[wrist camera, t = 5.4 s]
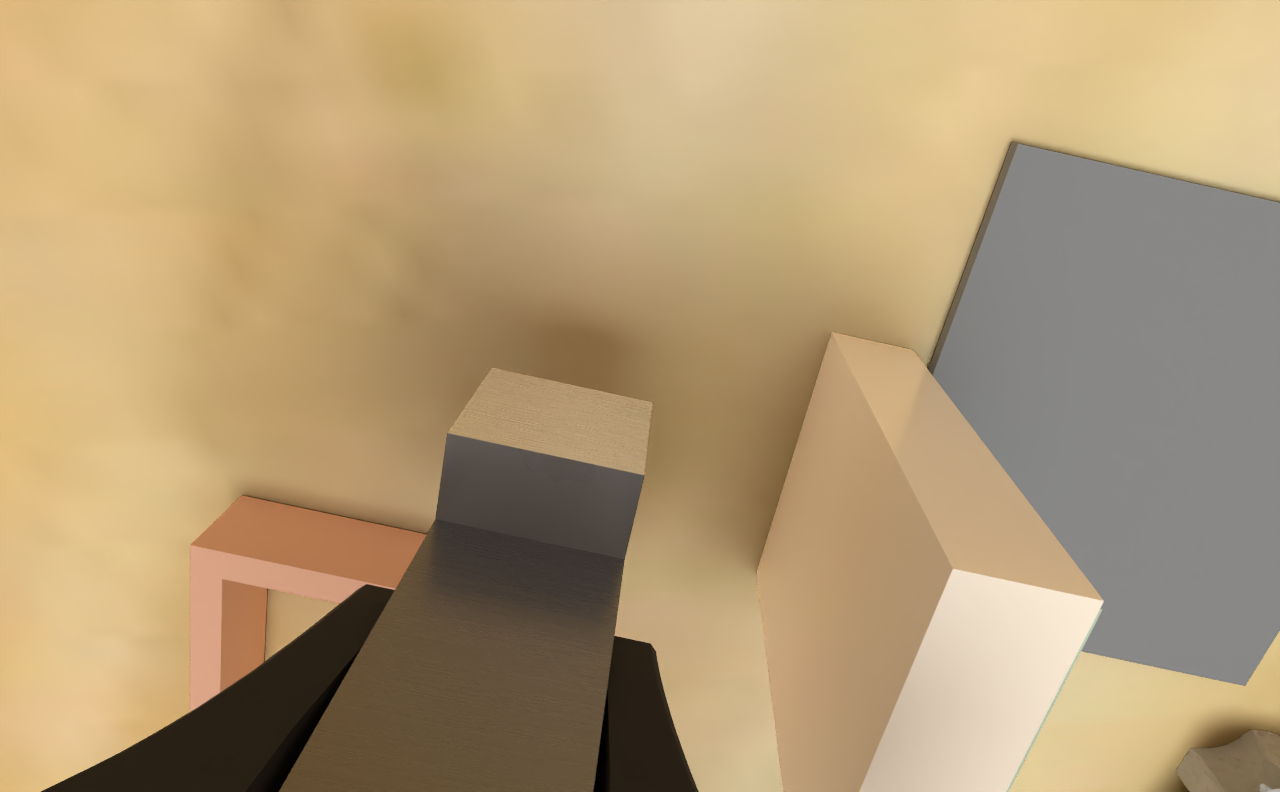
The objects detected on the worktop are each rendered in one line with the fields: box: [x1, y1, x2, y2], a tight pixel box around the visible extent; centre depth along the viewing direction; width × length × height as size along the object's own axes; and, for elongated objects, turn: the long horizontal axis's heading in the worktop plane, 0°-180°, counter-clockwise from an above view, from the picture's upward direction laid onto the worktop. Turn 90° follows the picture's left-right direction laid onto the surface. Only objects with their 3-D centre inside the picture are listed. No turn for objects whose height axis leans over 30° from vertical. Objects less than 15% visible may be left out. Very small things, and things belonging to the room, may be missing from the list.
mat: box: [928, 142, 1280, 686], centre depth 20 cm, size 12×11×1 cm
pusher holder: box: [190, 496, 427, 712], centre depth 23 cm, size 6×9×2 cm
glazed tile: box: [756, 332, 1104, 792], centre depth 17 cm, size 7×2×10 cm, turn 168°
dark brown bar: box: [279, 368, 653, 792], centre depth 12 cm, size 3×6×10 cm, turn 168°
